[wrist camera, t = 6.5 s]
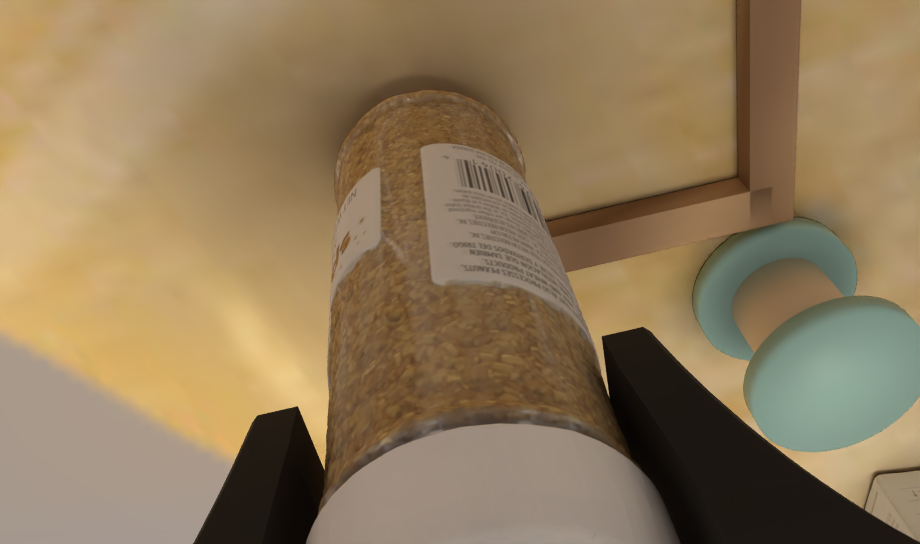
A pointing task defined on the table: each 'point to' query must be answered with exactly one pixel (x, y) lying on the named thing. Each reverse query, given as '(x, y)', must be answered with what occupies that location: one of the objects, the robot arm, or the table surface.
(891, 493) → the supplement box
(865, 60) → the table surface
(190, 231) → the table surface
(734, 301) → the bobbin
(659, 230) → the u-shaped brown frame
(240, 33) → the table surface
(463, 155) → the spice jar
